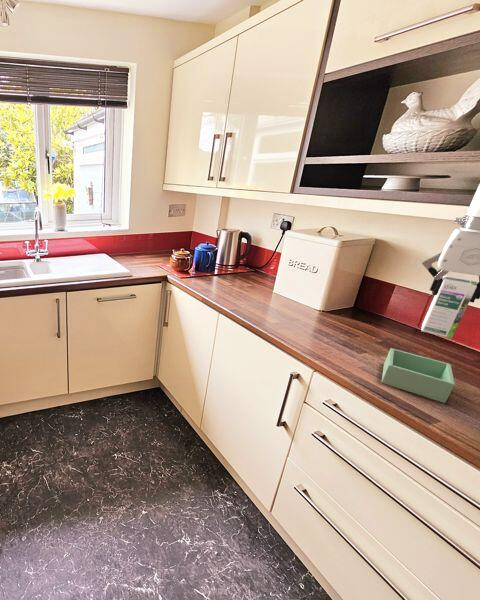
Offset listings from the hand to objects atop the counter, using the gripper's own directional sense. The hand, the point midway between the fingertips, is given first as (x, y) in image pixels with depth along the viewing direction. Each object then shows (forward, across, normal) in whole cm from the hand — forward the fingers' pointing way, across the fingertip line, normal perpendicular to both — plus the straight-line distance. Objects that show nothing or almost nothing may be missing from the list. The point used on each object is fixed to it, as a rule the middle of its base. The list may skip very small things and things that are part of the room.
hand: (452, 296), depth 84 cm
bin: (+26, 0, 0) cm, 26 cm away
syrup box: (+10, 0, 0) cm, 10 cm away
